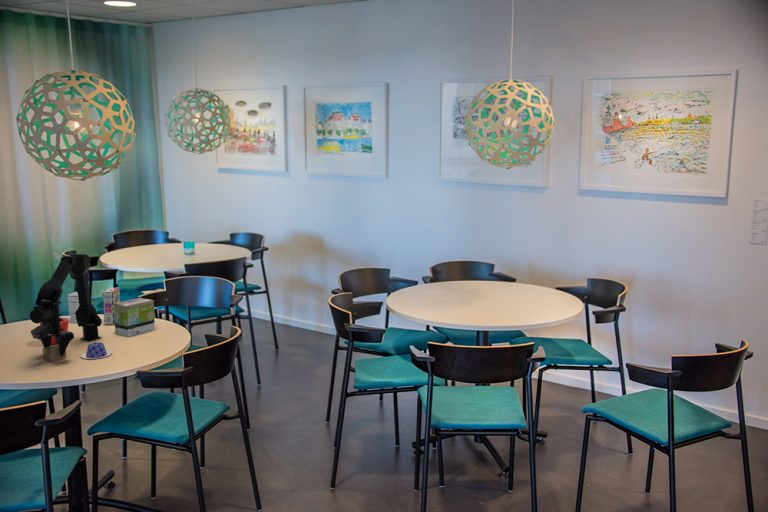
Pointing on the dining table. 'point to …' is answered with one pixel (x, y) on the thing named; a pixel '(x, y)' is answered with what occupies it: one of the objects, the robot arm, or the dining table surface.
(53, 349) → the walnut block
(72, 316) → the syrup box
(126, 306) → the tea box
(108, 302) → the candy bar box
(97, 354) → the pudding
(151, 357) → the dining table surface
